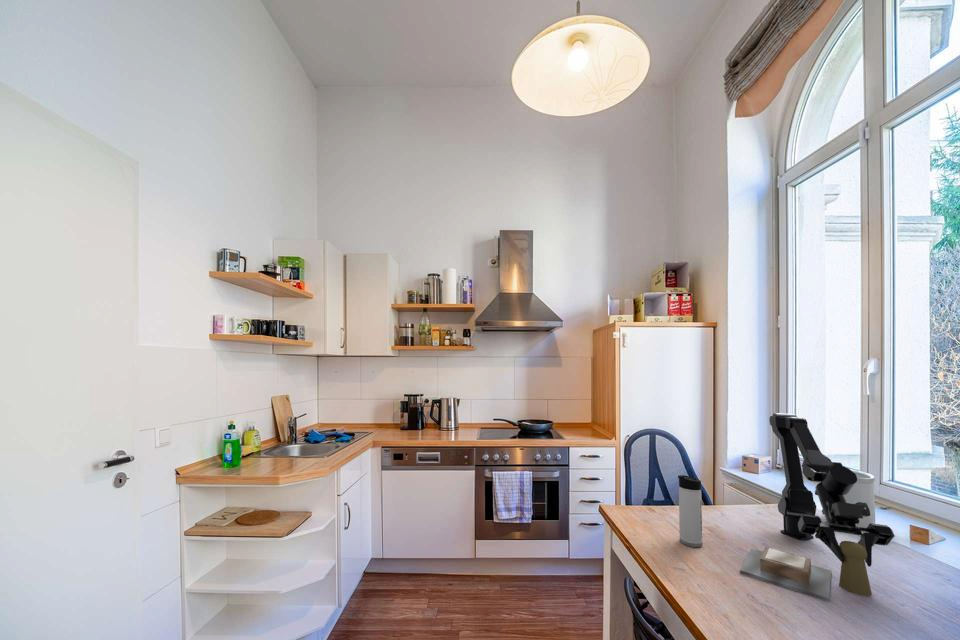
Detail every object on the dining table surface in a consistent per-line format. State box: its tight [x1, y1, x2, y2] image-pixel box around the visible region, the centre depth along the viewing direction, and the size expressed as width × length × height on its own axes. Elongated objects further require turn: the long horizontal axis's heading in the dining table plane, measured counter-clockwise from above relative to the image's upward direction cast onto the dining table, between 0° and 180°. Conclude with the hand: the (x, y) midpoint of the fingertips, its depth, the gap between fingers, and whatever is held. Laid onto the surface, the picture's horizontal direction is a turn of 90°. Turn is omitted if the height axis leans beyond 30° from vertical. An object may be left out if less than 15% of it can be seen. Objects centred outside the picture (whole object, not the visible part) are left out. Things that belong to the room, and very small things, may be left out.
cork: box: [838, 540, 873, 597], centre depth 102 cm, size 6×6×11 cm
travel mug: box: [677, 474, 703, 548], centre depth 126 cm, size 6×7×20 cm
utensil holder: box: [844, 468, 876, 528], centre depth 148 cm, size 15×15×18 cm
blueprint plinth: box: [739, 546, 832, 603], centre depth 109 cm, size 18×18×4 cm
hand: (856, 563), depth 101 cm, fingers closed on cork, 5 cm apart
